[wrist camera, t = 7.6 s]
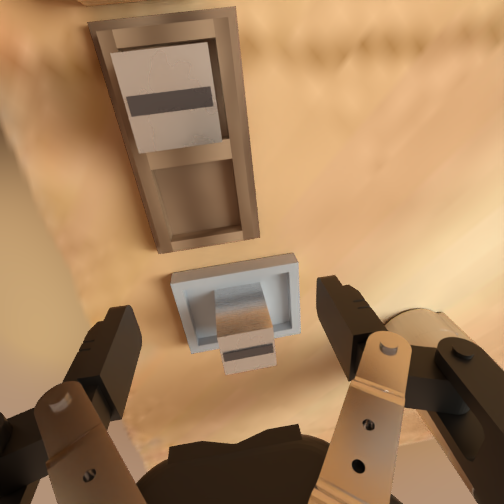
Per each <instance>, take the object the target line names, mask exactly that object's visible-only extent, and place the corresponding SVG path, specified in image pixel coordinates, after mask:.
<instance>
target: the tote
mask: <svg viewBox="0 0 504 504" xmlns="http://www.w3.org/2000/svg"><path fill="white" fill-rule="evenodd" d="M258 282H260V283H261V287H262V290H263V294H264V297H265V301H266V304H267V308H268V311H269V315H270V318H271V322H272V325H273V331H274V338H279V337H284V336H290V335H295V334H300V333H301V322H300V294H299V266H298V261H297V259H296V257H295V255H294V253H289V254H283V255H277V256H271V257H265V258H259V259H253V260H247V261H241V262H235V263H229V264H223V265H217V266H211V267H205V268H199V269H193V270H187V271H181V272H175V273H172V277H171V283H170V285H171V288H172V291H173V295H174V298H175V301H176V305H177V308H178V311H179V314H180V318H181V321H182V324H183V328H184V331H185V334H186V338H187V341H188V344H189V348H190V351H191V354H193V353H199V352H204V351H209V350H215V349H219V344H218V340H217V329H216V310H215V292H214V290H218V289H223V288H229V287H235V286H241V285H247V284H252V283H258Z"/></svg>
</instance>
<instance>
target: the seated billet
mask: <svg viewBox="0 0 504 504" xmlns="http://www.w3.org/2000/svg"><path fill="white" fill-rule="evenodd" d="M110 55H111V58H112V62H113V65H114V69H115V72H116V76H117V79H118V83H119V86H120V90H121V93H122V96H123V100H124V103H125V107H126V110H127V114H128V117H129V121H130V124H131V128H132V131H133V134H134V138H135V141H136V145H137V148H138V152H139V154H140V153H147V152H154V151H162V150H169V149H176V148H183V147H190V146H197V145H205V144H212V143H219V142H222V136H221V129H220V123H219V116H218V109H217V103H216V96H215V89H214V83H213V76H212V69H211V63H210V56H209V49H208V43H207V42H204V43H196V44H187V45H179V46H170V47H161V48H153V49H144V50H135V51H127V52H118V53H110Z"/></svg>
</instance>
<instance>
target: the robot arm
mask: <svg viewBox="0 0 504 504" xmlns="http://www.w3.org/2000/svg"><path fill="white" fill-rule="evenodd" d="M316 309H317V314H318V318H319V320H320V322H321V324H322V327H323V329H324V331H325V333H326V335H327V337H328V339H329V341H330V343H331V345H332V348H333V350H334V352H335V354H336V356H337V358H338V360H339V362H340V364H341V366H342V368H343V371H344V373H345V375H346V377H347V379H348V381H351V383H350V386H349V389H348V392H347V395H346V398H345V401H344V404H343V407H342V410H341V413H340V416H339V419H338V422H337V425H336V428H335V431H334V434H333V437H332V440H331V442H330V443H328V442H326V441H324V440H322V439H319V438H316V437H313V436H309V435H303V434H301V432H300V428H299V425H298V424H295V425H289V426H284V427H278V428H273V429H267V430H265V431H263V432H261V433H259V434H256V435H254V436H252V437H250V438H248V439H246V440H244V441H242V442H239V443H237V444H227V443H216V442H206V441H200V442H194V443H188V444H183V445H177V446H172V447H169V456H168V459H167V460H164V461H163V462H161V463H159V464H158V465H156V466H155V467H153V468H152V469H151V470H149V471H148V472H147V473H146V474H145V475H144V476H143V477H142V478H141V479H140V480H139V481H138V482H137V483H135V481H134V479H133V477H132V476H131V474H130V472H129V470H128V468H127V466H126V465H125V463H124V461H123V459H122V457H121V456H120V454H119V452H118V450H117V448H116V446H115V445H114V443H113V441H112V439H111V437H110V436H109V434H108V432H107V429H108V426H109V423H110V421H114V420H121V419H122V416H123V413H124V409H125V405H126V402H127V398H128V394H129V391H130V387H131V383H132V380H133V376H134V372H135V369H136V365H137V361H138V358H139V354H140V350H141V346H142V336H141V332H140V329H139V326H138V323H137V320H136V318H135V315H134V312H133V309H132V307H131V306H130V305H125V306H119V307H112V308H110V309H109V310H108V312H107V315H106V317H105V319H104V321H100V322H97V323H96V324H95V325H94V326H93V327H92V328H91V329H90V330H89V331H88V333H87V335H86V337H85V339H84V341H83V344H82V345H81V347H80V349H79V352H78V353H77V355H76V357H75V359H74V361H73V362H72V364H71V366H70V368H69V371H68V372H67V374H66V376H65V378H64V380H63V382H62V383H60V384H58V385H56V386H54V387H53V388H51V389H50V390H48V391H47V392H46V393H45V394H44V395H43V396H42V397H41V398H40V399H39V400H38V402H37V404H36V406H35V407H34V408H32V409H30V410H28V411H25V412H23V413H20V414H18V415H16V416H13V417H11V418H8V419H6V418H5V417H4V415H3V414H2V413H1V412H0V504H31V501H32V499H33V496H34V494H35V491H36V489H37V486H38V483H39V481H40V479H41V478H43V477H45V476H47V475H49V478H50V481H51V484H52V488H53V491H54V494H55V497H56V500H57V503H58V504H403V503H401V502H400V501H399V500H398V499H397V498H396V497H394V496H393V495H392V494H391V490H392V483H393V477H394V470H395V463H396V457H397V451H398V444H399V438H400V431H401V425H402V418H403V411H404V407H405V408H412V409H416V410H417V412H418V413H419V415H420V416H421V418H422V419H423V421H424V422H425V424H426V425H427V427H428V428H429V430H430V431H431V433H432V434H433V436H434V438H435V439H436V440H437V442H438V444H439V445H440V447H441V448H442V450H443V451H444V453H445V454H446V456H447V457H448V459H449V460H450V462H451V463H452V465H453V466H454V468H455V469H456V471H457V473H458V474H459V476H460V477H461V478H462V480H463V482H464V483H465V485H466V486H467V488H468V489H469V491H470V492H471V494H472V495H473V497H474V498H475V500H476V502H477V503H478V504H504V370H503V369H502V368H501V367H500V366H499V365H498V364H497V363H496V362H495V361H494V360H493V359H492V358H491V357H490V356H489V355H488V354H487V353H486V352H485V351H484V350H483V349H482V348H481V347H479V346H478V345H477V344H476V343H475V342H474V341H473V340H472V339H471V338H470V337H469V336H468V335H467V334H466V333H465V332H464V331H462V330H461V329H460V328H459V327H458V326H457V325H456V324H455V323H454V322H453V321H452V320H451V319H450V318H449V317H448V316H447V315H446V314H445V313H443V312H442V313H435V312H433V311H431V310H427V309H414V310H410V311H407V312H404V313H401V314H399V315H397V316H396V317H394V318H393V319H391V320H390V321H389V322H388V323H387V324H386V325H385V326H384V324H383V323H382V322H381V320H380V319H379V318H378V316H377V315H376V314H375V312H374V311H373V310H372V308H371V307H370V306H369V304H368V303H367V302H366V301H365V299H364V298H363V296H362V295H361V293H360V292H359V291H358V290H356V289H355V288H353V287H352V286H350V285H344V286H342V284H341V283H340V281H339V280H338V278H337V277H336V276H335V275H333V276H326V277H319V278H317V290H316Z"/></svg>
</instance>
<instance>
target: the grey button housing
mask: <svg viewBox="0 0 504 504" xmlns="http://www.w3.org/2000/svg"><path fill="white" fill-rule="evenodd" d="M77 1H79V2H80V3H82V4H83V5H85V6H86V7H87V6H97V5H107V4H116V3H126V2H135V1H145V0H77Z"/></svg>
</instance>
